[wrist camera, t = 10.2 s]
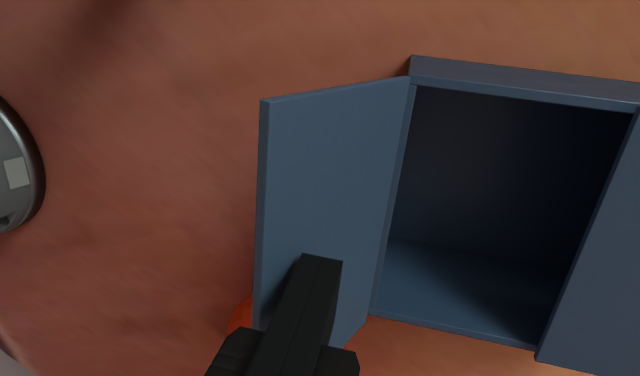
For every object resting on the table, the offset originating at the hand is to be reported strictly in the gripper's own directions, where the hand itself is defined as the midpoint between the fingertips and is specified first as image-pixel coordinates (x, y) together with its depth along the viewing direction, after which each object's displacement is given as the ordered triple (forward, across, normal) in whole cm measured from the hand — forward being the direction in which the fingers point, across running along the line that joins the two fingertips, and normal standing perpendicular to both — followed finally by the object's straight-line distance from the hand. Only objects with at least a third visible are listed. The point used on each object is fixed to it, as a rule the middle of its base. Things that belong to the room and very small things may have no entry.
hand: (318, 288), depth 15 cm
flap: (+3, 0, 0) cm, 3 cm away
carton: (+17, +11, 0) cm, 20 cm away
